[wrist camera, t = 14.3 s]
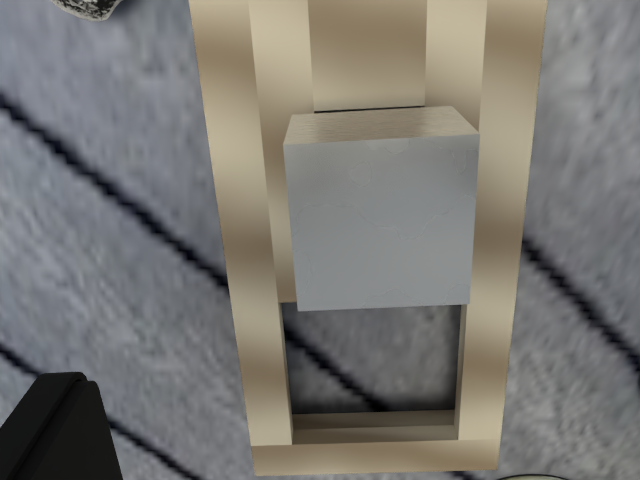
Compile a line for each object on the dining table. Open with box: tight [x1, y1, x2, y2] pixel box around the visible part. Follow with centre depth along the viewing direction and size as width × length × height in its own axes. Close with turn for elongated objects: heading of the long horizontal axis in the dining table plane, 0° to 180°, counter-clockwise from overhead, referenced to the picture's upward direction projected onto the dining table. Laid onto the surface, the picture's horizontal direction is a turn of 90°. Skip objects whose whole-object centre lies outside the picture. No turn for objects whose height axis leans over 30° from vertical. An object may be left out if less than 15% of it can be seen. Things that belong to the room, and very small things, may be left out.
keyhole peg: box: [283, 106, 480, 311], centre depth 20 cm, size 6×6×10 cm
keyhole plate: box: [189, 0, 548, 476], centre depth 24 cm, size 22×12×3 cm, turn 3°
